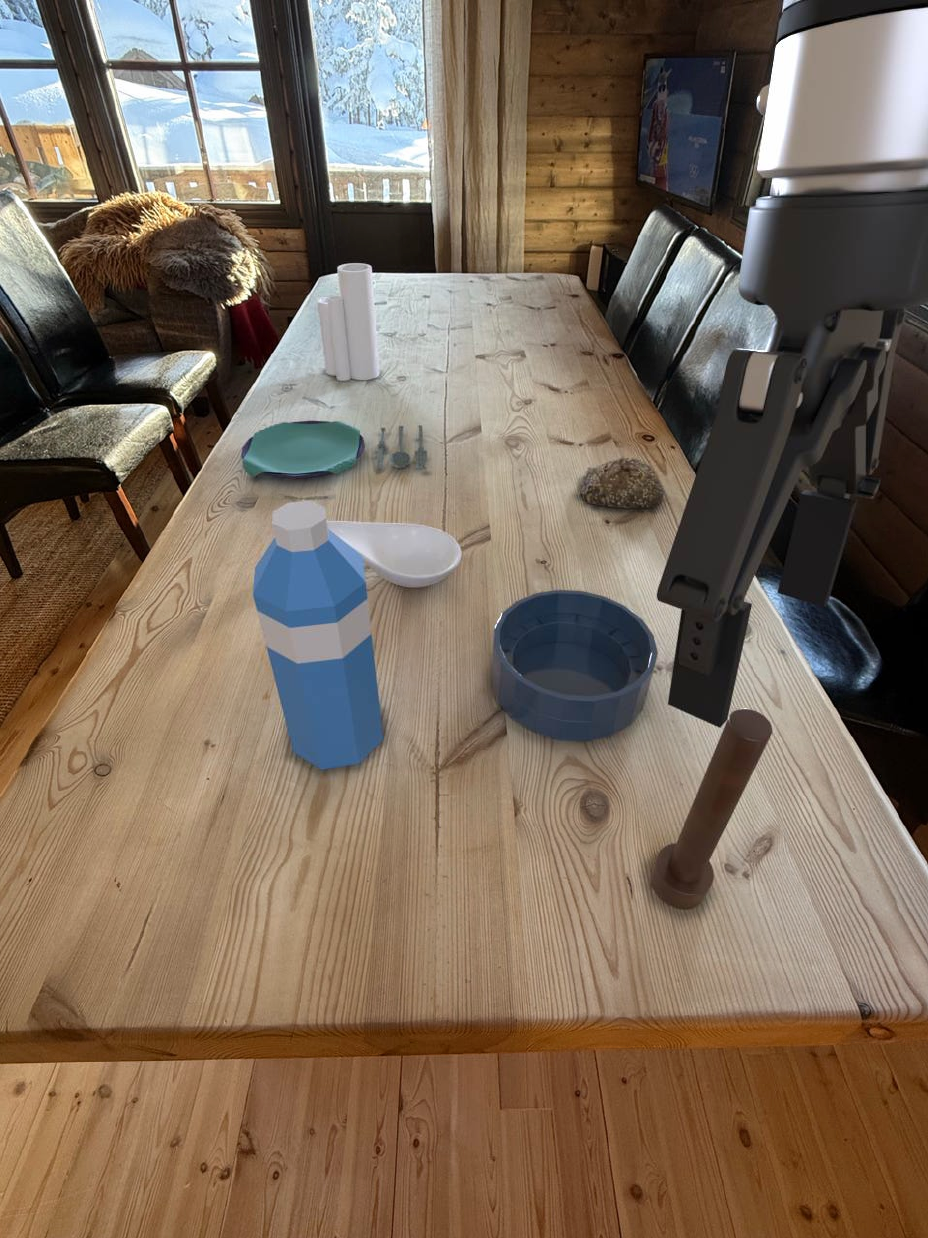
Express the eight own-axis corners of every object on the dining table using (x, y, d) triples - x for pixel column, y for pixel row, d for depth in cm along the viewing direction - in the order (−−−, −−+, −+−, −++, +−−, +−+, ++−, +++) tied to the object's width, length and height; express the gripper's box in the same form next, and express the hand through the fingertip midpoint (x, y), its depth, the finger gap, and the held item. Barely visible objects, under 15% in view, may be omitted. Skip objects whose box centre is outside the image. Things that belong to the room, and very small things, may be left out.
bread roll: (665, 515, 96) (672, 485, 93) (579, 509, 97) (584, 479, 94) (656, 472, 106) (663, 444, 102) (579, 467, 107) (583, 439, 103)
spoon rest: (458, 546, 90) (458, 500, 85) (464, 600, 81) (465, 552, 76) (282, 551, 88) (273, 504, 84) (268, 607, 79) (257, 559, 75)
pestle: (714, 880, 54) (798, 720, 41) (691, 921, 51) (773, 765, 38) (665, 848, 56) (730, 687, 43) (641, 886, 53) (701, 727, 40)
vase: (381, 368, 139) (373, 263, 126) (377, 381, 133) (369, 272, 120) (328, 367, 139) (315, 262, 126) (321, 380, 133) (307, 271, 120)
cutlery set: (255, 431, 116) (253, 418, 114) (426, 428, 117) (425, 416, 115) (231, 488, 101) (228, 475, 99) (427, 484, 102) (427, 471, 100)
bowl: (671, 677, 71) (685, 633, 67) (593, 773, 62) (603, 728, 57) (546, 615, 79) (551, 571, 75) (460, 691, 69) (460, 646, 65)
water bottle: (311, 690, 69) (266, 477, 53) (396, 704, 68) (378, 490, 52) (274, 761, 62) (210, 542, 46) (368, 778, 61) (336, 558, 45)
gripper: (860, 179, 34) (777, 546, 46) (584, 205, 19) (564, 740, 31) (1041, 168, 30) (898, 579, 41) (863, 192, 15) (718, 824, 26)
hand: (755, 649), depth 36 cm, fingers open, 13 cm apart
